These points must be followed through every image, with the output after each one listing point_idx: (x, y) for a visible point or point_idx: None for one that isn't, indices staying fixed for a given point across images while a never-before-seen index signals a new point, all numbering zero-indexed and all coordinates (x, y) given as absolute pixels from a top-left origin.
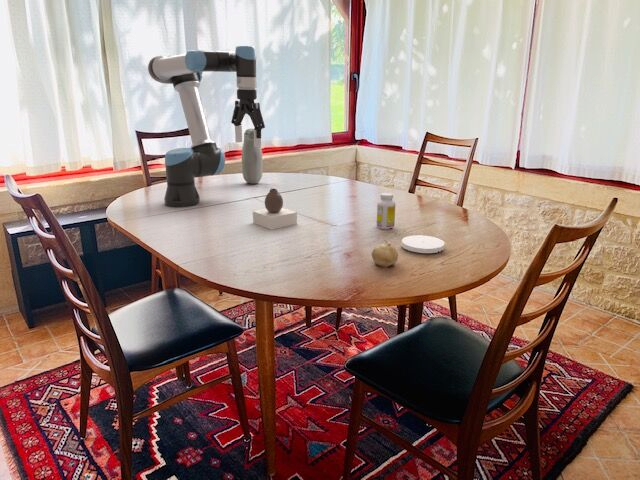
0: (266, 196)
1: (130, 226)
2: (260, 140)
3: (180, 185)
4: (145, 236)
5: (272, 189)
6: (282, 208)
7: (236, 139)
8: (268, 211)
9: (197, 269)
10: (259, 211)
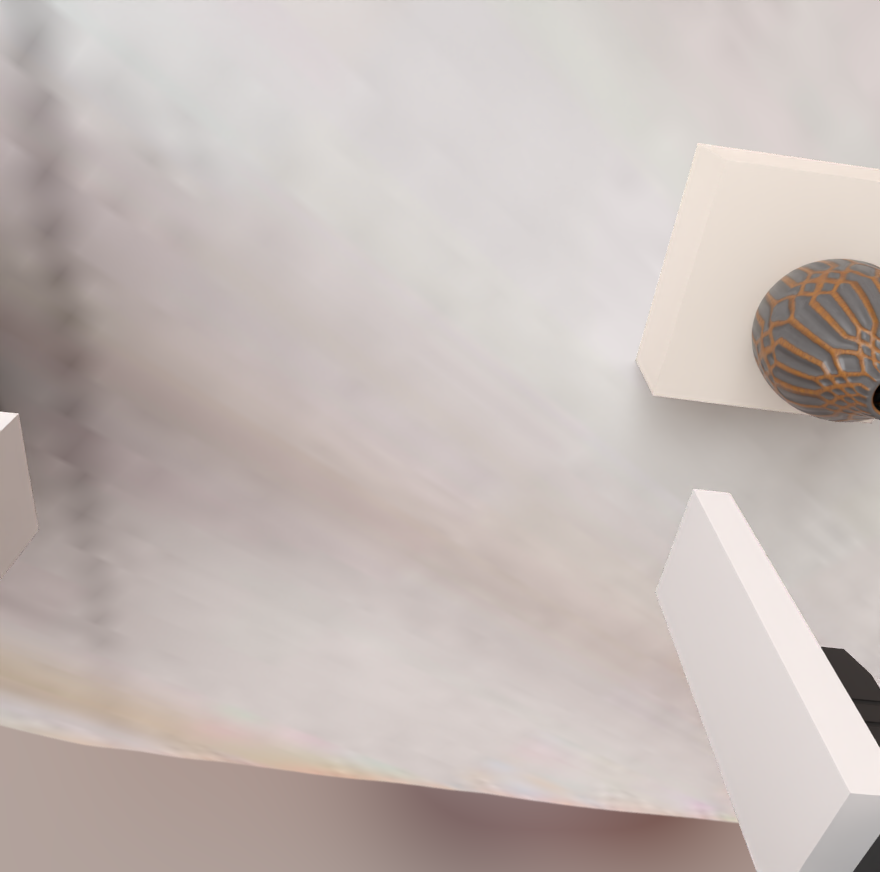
0: (817, 414)
1: (226, 746)
2: (768, 579)
3: None
4: (407, 768)
5: (867, 379)
6: (804, 189)
7: (7, 568)
8: None
9: None
10: (700, 371)
